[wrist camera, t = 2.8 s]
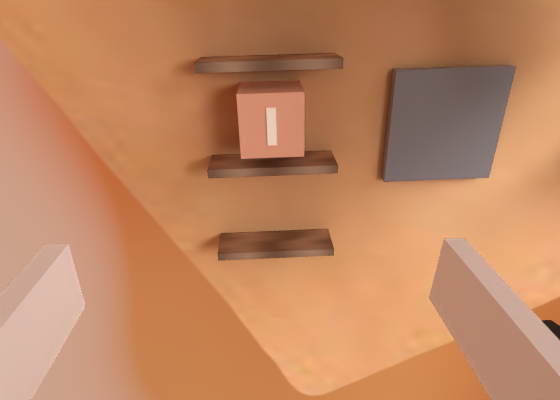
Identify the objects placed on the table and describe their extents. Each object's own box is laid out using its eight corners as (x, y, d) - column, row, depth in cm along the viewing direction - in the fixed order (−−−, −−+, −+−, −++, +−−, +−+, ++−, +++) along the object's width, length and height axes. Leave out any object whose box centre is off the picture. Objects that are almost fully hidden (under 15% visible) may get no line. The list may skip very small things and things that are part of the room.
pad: (509, 65, 35) (516, 66, 34) (483, 173, 40) (488, 177, 39) (392, 69, 35) (396, 70, 34) (381, 177, 40) (384, 181, 39)
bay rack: (339, -73, 30) (349, -84, 26) (327, 234, 43) (333, 255, 39) (187, -69, 30) (177, -80, 26) (222, 239, 43) (218, 260, 39)
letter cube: (298, 80, 35) (304, 92, 30) (298, 137, 38) (304, 156, 33) (239, 82, 35) (236, 94, 30) (243, 139, 38) (240, 159, 33)
